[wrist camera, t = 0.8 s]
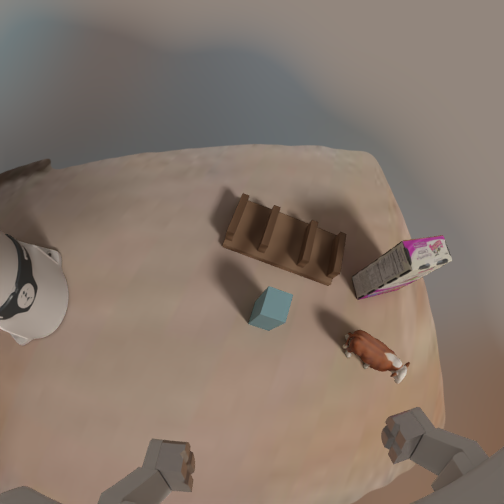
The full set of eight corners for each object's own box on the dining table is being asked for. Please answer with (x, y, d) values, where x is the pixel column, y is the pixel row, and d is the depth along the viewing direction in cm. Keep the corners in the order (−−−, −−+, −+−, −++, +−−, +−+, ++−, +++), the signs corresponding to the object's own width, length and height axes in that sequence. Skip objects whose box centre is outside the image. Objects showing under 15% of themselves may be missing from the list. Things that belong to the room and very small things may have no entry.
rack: (222, 246, 47) (224, 236, 43) (240, 201, 51) (244, 188, 48) (328, 285, 48) (338, 278, 44) (337, 239, 52) (347, 229, 49)
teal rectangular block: (248, 323, 43) (260, 314, 35) (255, 301, 45) (268, 286, 36) (268, 330, 43) (285, 322, 35) (275, 308, 45) (293, 294, 37)
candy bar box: (391, 267, 52) (443, 233, 38) (397, 290, 51) (454, 261, 36) (349, 275, 50) (402, 238, 35) (356, 300, 48) (413, 271, 33)
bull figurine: (378, 387, 42) (406, 387, 35) (330, 345, 44) (354, 340, 36) (389, 368, 44) (418, 365, 37) (343, 326, 46) (368, 317, 38)
